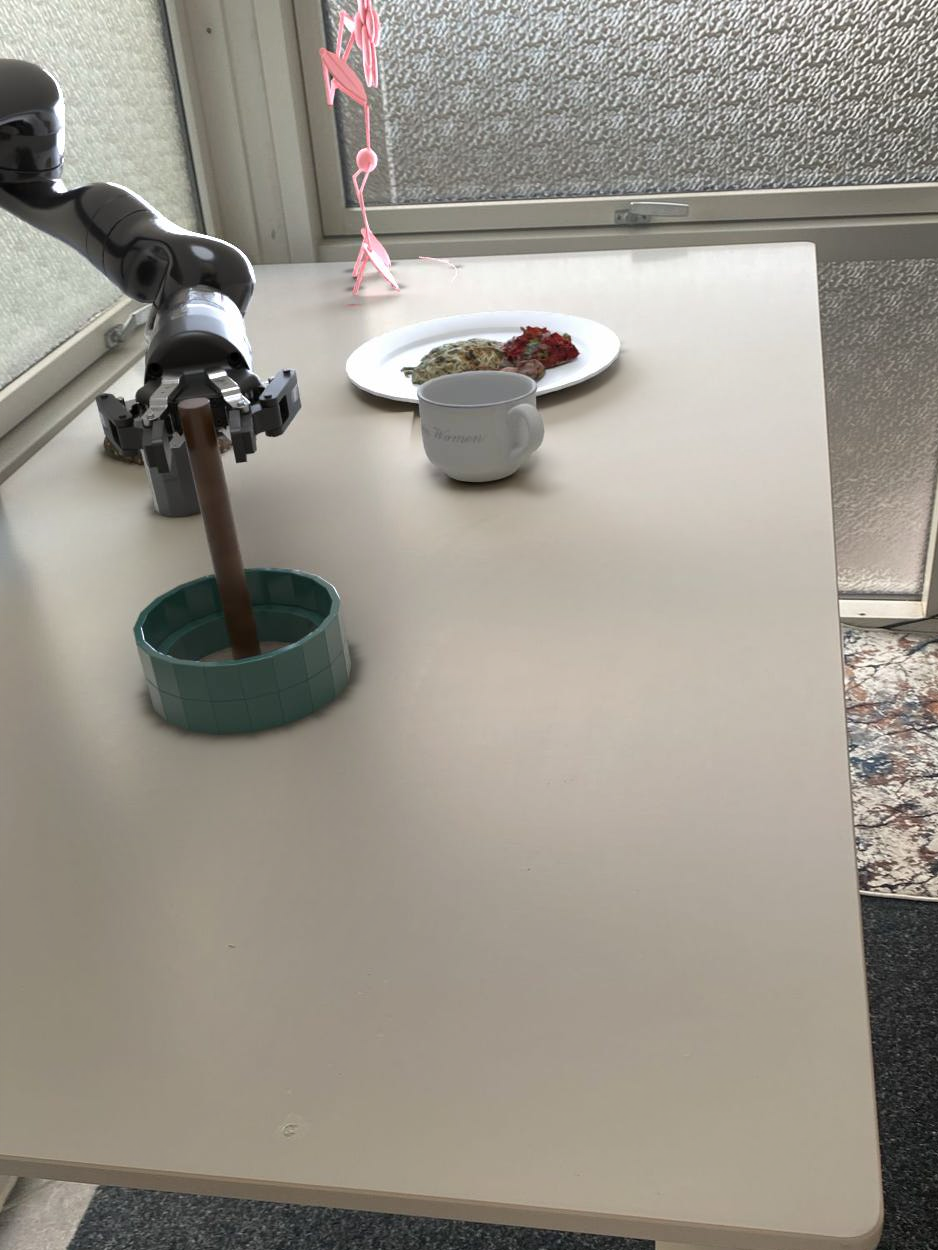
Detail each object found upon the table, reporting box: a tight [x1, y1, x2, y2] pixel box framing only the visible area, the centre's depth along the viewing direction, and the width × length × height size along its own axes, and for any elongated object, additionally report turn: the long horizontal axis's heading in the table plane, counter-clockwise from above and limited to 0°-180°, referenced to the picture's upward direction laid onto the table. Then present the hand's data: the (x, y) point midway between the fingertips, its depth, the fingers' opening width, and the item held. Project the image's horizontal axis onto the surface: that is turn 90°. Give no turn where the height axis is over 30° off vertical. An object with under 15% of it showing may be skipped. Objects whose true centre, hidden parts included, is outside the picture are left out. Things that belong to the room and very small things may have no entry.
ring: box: [132, 566, 352, 735], centre depth 94 cm, size 14×14×6 cm
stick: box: [178, 398, 263, 660], centre depth 89 cm, size 2×2×20 cm
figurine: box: [318, 0, 461, 307], centre depth 167 cm, size 15×26×35 cm, turn 5°
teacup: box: [417, 371, 545, 483], centre depth 121 cm, size 14×11×8 cm
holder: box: [135, 417, 201, 518], centre depth 119 cm, size 5×5×9 cm
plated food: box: [345, 310, 621, 404], centre depth 146 cm, size 30×30×3 cm
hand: (199, 452), depth 82 cm, fingers open, 4 cm apart
